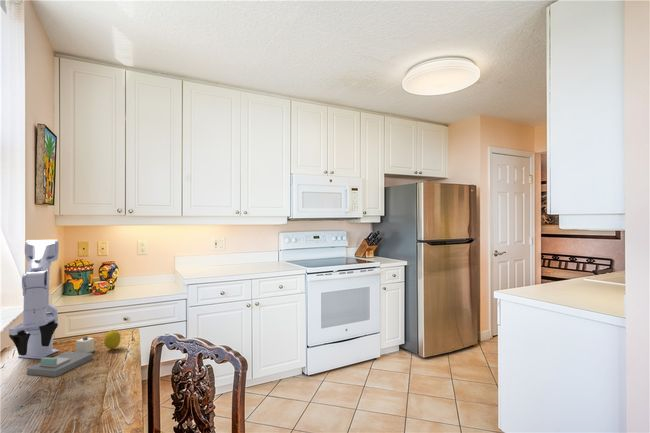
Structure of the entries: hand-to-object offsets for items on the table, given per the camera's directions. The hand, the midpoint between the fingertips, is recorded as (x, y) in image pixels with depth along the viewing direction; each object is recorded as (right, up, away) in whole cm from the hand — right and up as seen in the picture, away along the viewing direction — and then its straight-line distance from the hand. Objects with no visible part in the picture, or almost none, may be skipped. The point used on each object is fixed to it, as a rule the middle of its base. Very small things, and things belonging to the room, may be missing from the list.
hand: (34, 350), depth 111 cm
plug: (+1, -10, +23) cm, 25 cm away
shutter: (+1, -7, +8) cm, 11 cm away
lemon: (+10, -10, +26) cm, 29 cm away
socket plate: (+1, -10, +10) cm, 14 cm away
